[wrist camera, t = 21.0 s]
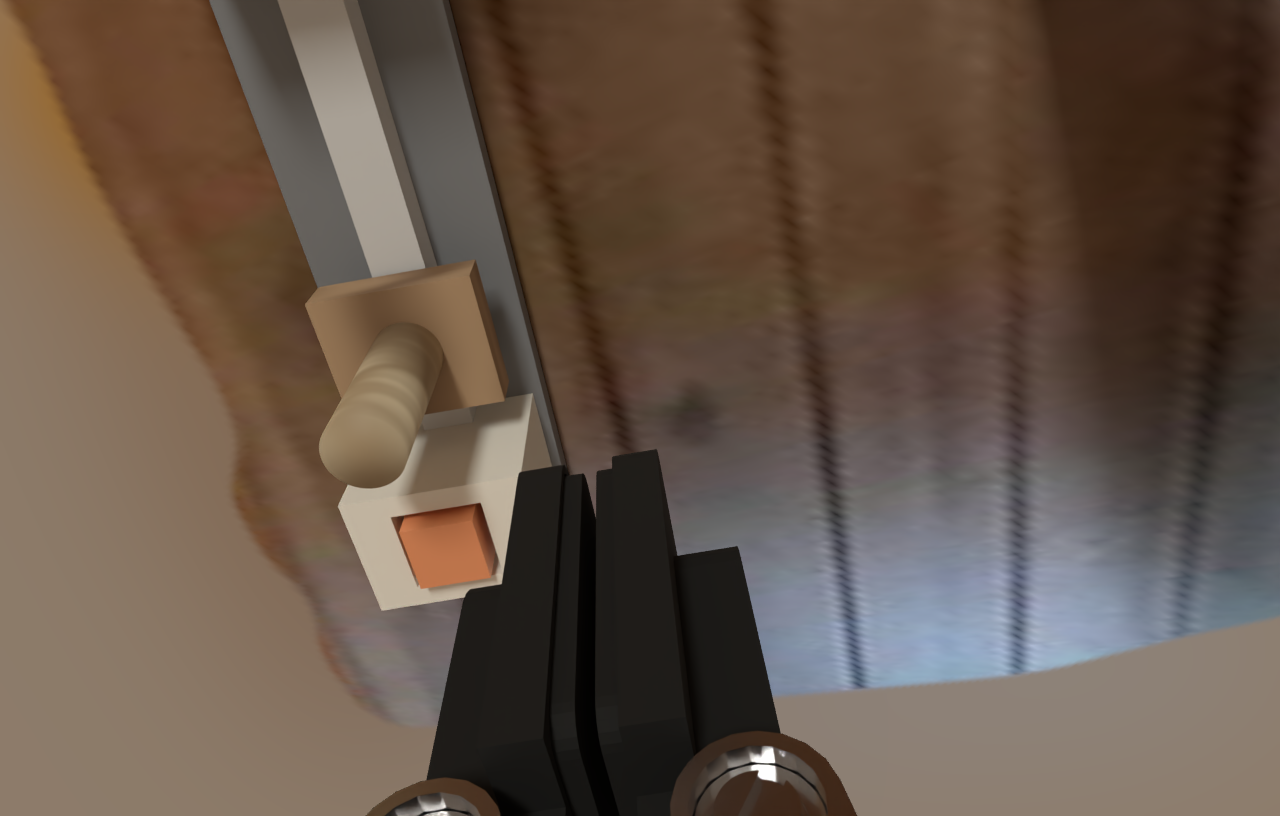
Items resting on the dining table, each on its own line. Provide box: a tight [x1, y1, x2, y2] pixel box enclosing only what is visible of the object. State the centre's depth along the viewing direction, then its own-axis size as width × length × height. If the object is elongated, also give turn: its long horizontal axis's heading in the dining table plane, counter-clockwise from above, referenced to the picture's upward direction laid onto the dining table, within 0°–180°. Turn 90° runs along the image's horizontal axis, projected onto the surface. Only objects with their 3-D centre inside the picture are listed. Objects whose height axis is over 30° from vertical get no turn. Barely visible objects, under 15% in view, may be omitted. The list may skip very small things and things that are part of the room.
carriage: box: [305, 259, 509, 489], centre depth 34 cm, size 7×6×10 cm
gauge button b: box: [399, 503, 496, 589], centre depth 39 cm, size 3×3×4 cm
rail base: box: [209, 0, 567, 610], centre depth 35 cm, size 9×36×9 cm, turn 10°
